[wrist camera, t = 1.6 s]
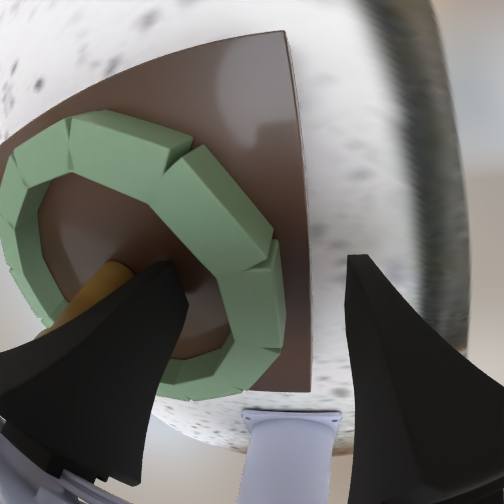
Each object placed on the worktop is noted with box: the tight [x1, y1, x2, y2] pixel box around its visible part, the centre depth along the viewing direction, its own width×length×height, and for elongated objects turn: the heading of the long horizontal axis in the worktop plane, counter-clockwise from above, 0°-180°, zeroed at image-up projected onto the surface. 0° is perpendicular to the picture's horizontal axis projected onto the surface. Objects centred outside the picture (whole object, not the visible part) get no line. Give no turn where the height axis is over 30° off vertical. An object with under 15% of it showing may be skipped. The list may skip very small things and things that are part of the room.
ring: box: [0, 109, 286, 401], centre depth 10 cm, size 13×13×2 cm
